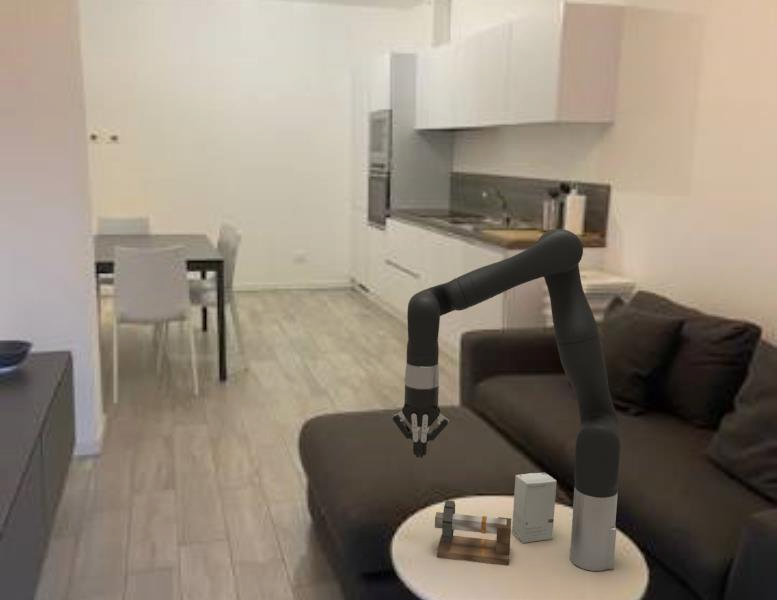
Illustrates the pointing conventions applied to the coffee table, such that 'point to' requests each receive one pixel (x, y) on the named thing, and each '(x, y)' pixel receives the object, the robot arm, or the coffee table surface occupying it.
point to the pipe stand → (477, 539)
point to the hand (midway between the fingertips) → (419, 456)
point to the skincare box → (534, 507)
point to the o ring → (448, 521)
